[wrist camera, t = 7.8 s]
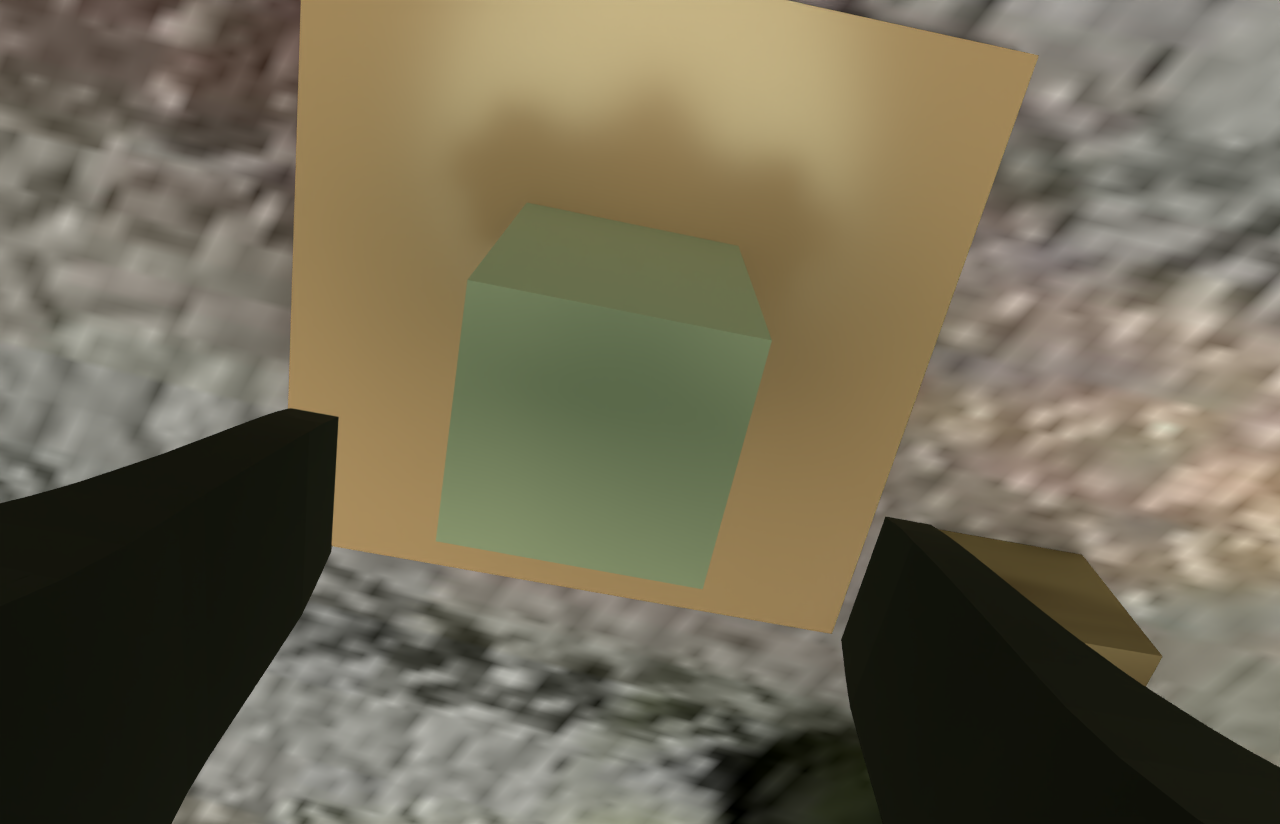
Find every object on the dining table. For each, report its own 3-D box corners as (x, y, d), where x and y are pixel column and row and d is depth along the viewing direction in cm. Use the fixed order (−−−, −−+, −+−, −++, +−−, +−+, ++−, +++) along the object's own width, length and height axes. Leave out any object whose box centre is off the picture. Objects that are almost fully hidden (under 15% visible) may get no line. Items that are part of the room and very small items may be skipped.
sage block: (691, 434, 20) (702, 589, 14) (498, 397, 20) (435, 541, 14) (738, 245, 18) (771, 340, 13) (527, 202, 18) (467, 280, 12)
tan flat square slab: (824, 610, 23) (831, 633, 22) (299, 516, 22) (283, 537, 21) (1018, 54, 17) (1038, 55, 16) (324, -99, 17) (304, -106, 16)
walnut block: (1023, 672, 24) (1089, 788, 20) (884, 648, 24) (925, 762, 20) (1080, 553, 22) (1162, 656, 19) (931, 526, 22) (984, 626, 18)
